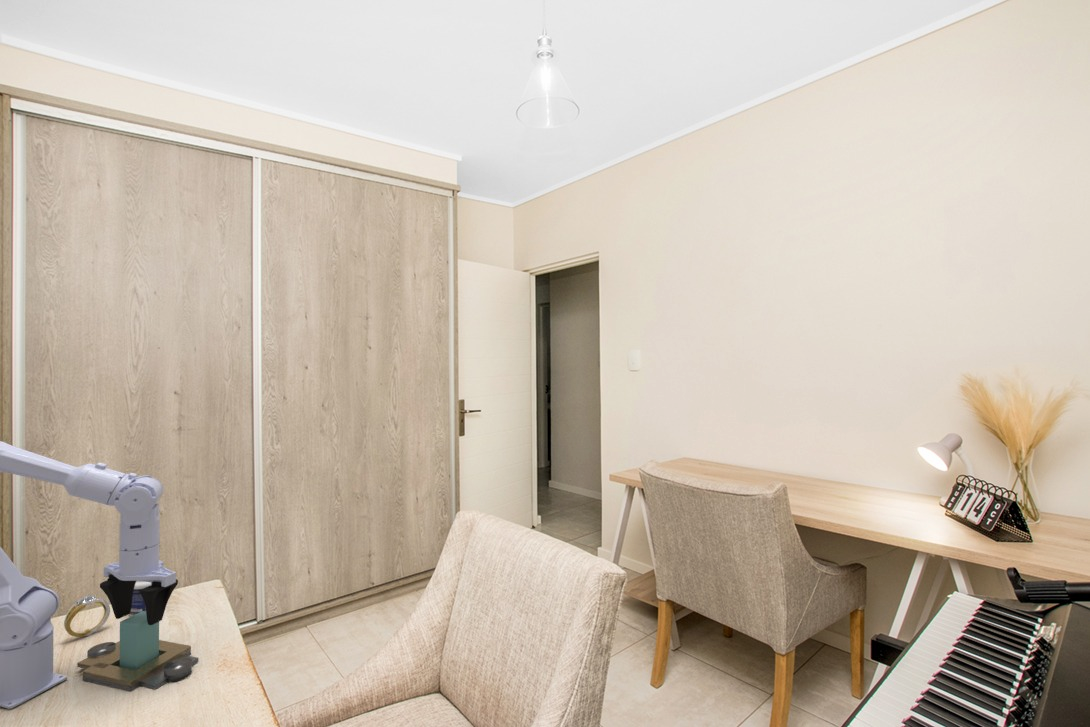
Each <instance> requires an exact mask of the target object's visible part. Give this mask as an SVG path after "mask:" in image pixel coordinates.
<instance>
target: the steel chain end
mask: <svg viewBox="0 0 1090 727" xmlns="http://www.w3.org/2000/svg"><path fill="white" fill-rule="evenodd" d="M191 655H192V649H191V650H190V651H189V652H187V653H185V654H184V655H182V656H181V657H179V658H177V659H175V660H173V661H171V662H169V663H167V664H166V665H165V666H164V667H163V668H161V669H159V670H158V671H156V672H154V673H153V674H151V675H149V676H148V677H146V678H145V679H143V680H141V681H140V682H138V683H136V684H135V685H133V686H131V687H130V686H125V685H121V684H116V683H112V682H108V681H103V680H99V679H95V678H90V677H86V676H81V677H82V678H81V679H82V681H84V682H89V683H93V684H96V685H97V684H98V685H101V686H106V687H111V688H115V689H118V690H122V691H123V690H124V691H127V692H133V691H134V690H135V689H138V688H139V687H142V688H143V687H144V688H148V689H152V690H158V689H159V688H160V687H162V686H164V685H165V684H167V683H177V682H179V681H182V680H184V679H186V678H188V677H189V676H190V675H191V674H192V670H193V669H192V668H193V666H194V665H196V664H198V663H199V657H197V656H191ZM159 656H160V654H159ZM117 667H120V664H118V665H117Z"/></svg>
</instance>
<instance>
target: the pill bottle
mask: <svg viewBox="0 0 1090 727" xmlns="http://www.w3.org/2000/svg"><path fill="white" fill-rule="evenodd" d="M150 585H151V582H145V581H136V583H135V587H134V591H133V597H132V607H131V612H130V614H129V617H131V616H133V615H135V614H138V613H140V612H142V611H145V612H146V606H145V602H144V600H143V597H142V596H141V594H140V593H139V590H141V589H143V588H145V587H148V586H150Z"/></svg>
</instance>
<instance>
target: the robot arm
mask: <svg viewBox="0 0 1090 727" xmlns="http://www.w3.org/2000/svg"><path fill="white" fill-rule="evenodd" d="M107 466H108V464H107V463H103V462H101V461H100V462H97V463H96V464H94V463H86V464H83V465H79V466H74V465H71V464H68V463H65V462H63V461H59V460H57V459H53V458H50V457H48V456H44V455H40V454H39V453H35V452H31V451H29V450H26V449H23V448H19V447H17V446H14V445H11V444H9V443H7V442H5V441H1V440H0V474H1V473H6V474H11V475H17V476H20V477H25V478H30V479H34V480H39V481H43V482H47V483H51V484H57V485H60V486H63V487H64V489H65V490H66V492H67V494H68V495H69V496H72V497H76V498H79V499H83V500H87V501H90V502H94V503H98V504H103V505H105V506H110V507H112V506H113V507H115V509H116V511H117V512H118V513H119V514H120V520H119V521H120V523H119V538H118V539H119V544H118V545H119V549H118V553H119V554H118V562H112V563H109V564H107V565H103V577H104V578H107V580H104V581H103V582H100V583H99V588H100V589H101V591H103V593H104V594H105V595H106V597H107V598H108V601H109V604H110V605H111V609H112V612H113V615H114V617H115V619H117V620H119V619H122V618H124V617H126V616H128V615H130V612H131V607H132V597H133V591H134V587H135V583H136V581H145V582H151V585H150V586H148V587H145V588H143V589H141V590H139V593H140V594H141V596H142V597H143V600H144V602H145V606H146V615H147V622H148V625H153V624H155V623H157V622H159V623H160V622H161V621H163V617H164V616H165V615H164V614H165V610H166V608H167V605H168V602H169V599H170V597H171V595H172V593H173V592H174V590H175V588H176V587H177V586H178V583H179V579H177V572H176V571H172V570H170V569H168V568H166V567H165V566H164V565H165V562H164V561H163V560H160V541H161V540H160V533H161V532H160V530H161V529H160V528H161V527H160V526H161V524H160V523H161V522H160V521H161V517H160V503H158V502H159V501H160V499H162V496H163V494H164V487H163V484H162V482H161V481H160V480H158V479H157V478H155V477H153V476H151V475H147V474H146V475H140V476H138V474H137V473H134V472H130V473H125V472H122V471H118V470H114V469H111V468H107ZM59 606H60V597H59V595H58V594H57V592H55V591H54V590H52V589H50V588H48V587H46V586H43V585H42V584H41V583H40V582H39V580H38V579H36V578H34V577H30V576H25V575H23V574H22V573H21V571H20V570H19V569H18V567H17V566H16V565H15V563H14V562H13V561H12V560H11V558H10V557H9V556H8V554H7V553H6V552H5V551H4V549H3V548H2V547H1V546H0V707H2V708H6V709H8V710H9V709H10V710H11V709H14V708H15V707H17V706H19V705H21V704H23V703H25V702H27V701H28V700H30V699H32V698H35V697H37V696H39V695H40V694H41V693H43V692H45V691H48V690H49V689H51V688H53V687H55V686H57V685H59V684H60V683H62V682H64V681H65V680H67V679H68V676H67V675H64V674H60V673H55V672H54V625H53V623H52V621H51V619H52V617H53V615H54V614H55V613H56V612H57V610H59Z"/></svg>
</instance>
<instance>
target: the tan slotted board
mask: <svg viewBox="0 0 1090 727" xmlns="http://www.w3.org/2000/svg"><path fill="white" fill-rule="evenodd" d="M190 650H191V651H192V646H191V645H187V644H183V643H176V642H173V641H167V640H161V639H159V654H160V656H159V657H157V658H155V659H153V660H152V661H150V662H148V663H147V664H145V665H143V666H141V667H140V668H138V669H136V670H131V669H127V668H122V667H117V665H118V664H120V640H119V641H117V642H113V641H106V642H102V643H99V644H96V645H93V646H92V647H90V648H89V649H88V650H87V656H86V657H85V658H84V659H81V660H80V661H78V662H77V667H76V668H79V669H84V670H82V671H81V672H82V676H86V677H90V678H95V679H99V680H103V681H108V682H112V683H116V684H121V685H125V686H130V687H131V686H133V685H135V684H136V683H138V682H140V681H141V680H143V679H145V678H146V677H148V676H149V675H151V674H153V673H154V672H156V671H158V670H159V669H161V668H163V667H164V666H165V665H166V664H167V663H169V662H171V661H173V660H175V659H177V658H179V657H181V656H182V655H184V654H185V653H187V652H189V651H190ZM82 676H81V677H82Z"/></svg>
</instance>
